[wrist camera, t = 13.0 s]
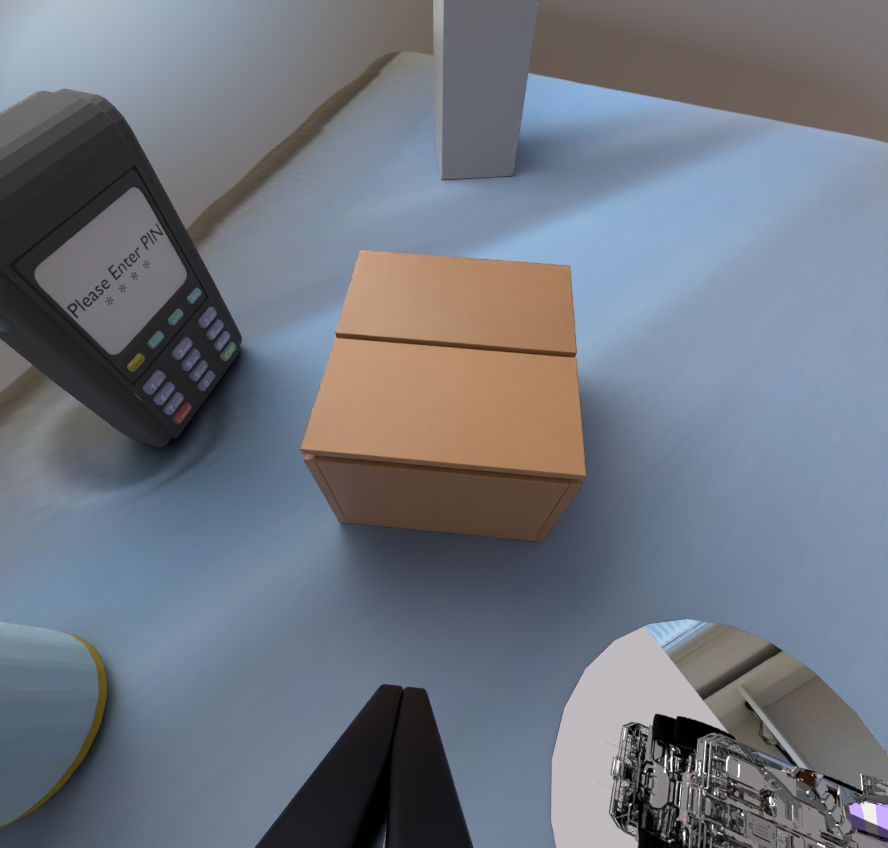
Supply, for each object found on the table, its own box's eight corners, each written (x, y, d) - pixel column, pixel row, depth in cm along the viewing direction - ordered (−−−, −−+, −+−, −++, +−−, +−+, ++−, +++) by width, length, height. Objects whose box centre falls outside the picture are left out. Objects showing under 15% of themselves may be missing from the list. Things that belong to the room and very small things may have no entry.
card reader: (175, 460, 26) (-85, 230, 13) (116, 441, 26) (-189, 204, 13) (256, 346, 30) (123, 92, 17) (204, 332, 31) (39, 77, 18)
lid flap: (583, 480, 17) (586, 476, 16) (302, 454, 17) (299, 449, 17) (574, 363, 20) (576, 357, 20) (336, 343, 20) (334, 337, 20)
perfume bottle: (434, 142, 45) (432, -149, 29) (499, 139, 45) (532, -148, 30) (441, 179, 41) (445, -128, 26) (513, 175, 42) (557, -128, 26)
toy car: (1000, 1270, 13) (1324, 1601, 8) (503, 983, 15) (532, 1109, 11) (919, 699, 20) (1063, 701, 15) (591, 572, 23) (631, 542, 18)
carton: (542, 542, 23) (588, 478, 16) (339, 522, 24) (297, 451, 17) (539, 366, 30) (571, 264, 23) (377, 352, 30) (359, 248, 23)
